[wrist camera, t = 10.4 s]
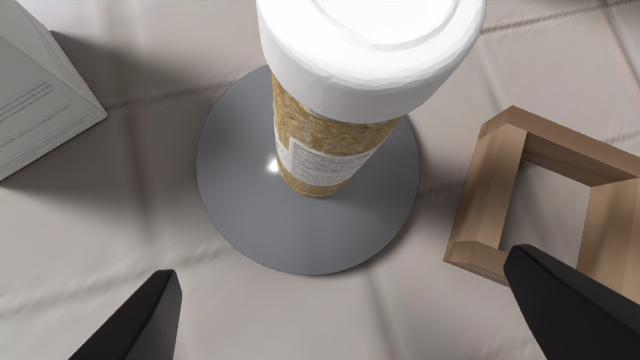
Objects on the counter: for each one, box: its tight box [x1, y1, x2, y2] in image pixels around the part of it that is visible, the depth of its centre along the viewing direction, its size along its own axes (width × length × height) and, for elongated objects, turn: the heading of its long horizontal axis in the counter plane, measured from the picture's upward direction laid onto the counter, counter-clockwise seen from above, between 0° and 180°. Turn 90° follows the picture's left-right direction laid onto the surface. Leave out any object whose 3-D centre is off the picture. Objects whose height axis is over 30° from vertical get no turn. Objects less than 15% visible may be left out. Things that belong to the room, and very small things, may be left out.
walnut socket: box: [443, 105, 640, 305], centre depth 19 cm, size 9×9×3 cm
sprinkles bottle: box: [256, 0, 487, 197], centre depth 13 cm, size 5×5×13 cm
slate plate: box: [196, 65, 420, 275], centre depth 20 cm, size 13×13×1 cm
